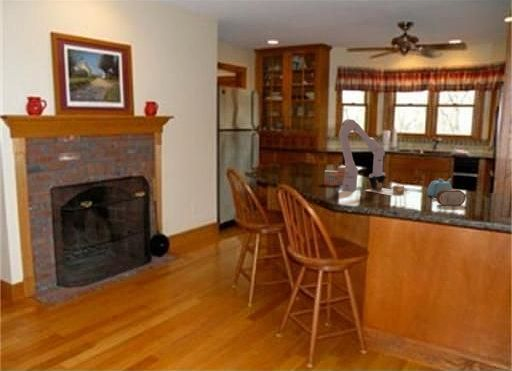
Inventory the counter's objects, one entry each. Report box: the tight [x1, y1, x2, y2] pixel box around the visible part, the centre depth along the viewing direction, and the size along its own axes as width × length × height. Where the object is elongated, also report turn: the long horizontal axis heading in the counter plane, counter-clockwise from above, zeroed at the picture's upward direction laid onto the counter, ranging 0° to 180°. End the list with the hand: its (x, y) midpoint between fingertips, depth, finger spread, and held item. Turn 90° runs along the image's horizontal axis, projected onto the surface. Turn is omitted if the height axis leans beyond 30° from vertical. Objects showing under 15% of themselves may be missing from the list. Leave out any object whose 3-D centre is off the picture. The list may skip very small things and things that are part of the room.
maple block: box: [392, 184, 405, 196], centre depth 263 cm, size 4×4×4 cm
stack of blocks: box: [323, 165, 359, 187], centre depth 294 cm, size 21×6×12 cm, turn 81°
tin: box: [435, 189, 467, 207], centre depth 235 cm, size 15×3×8 cm, turn 92°
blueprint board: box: [364, 187, 410, 197], centre depth 269 cm, size 22×16×1 cm
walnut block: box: [370, 181, 383, 191], centre depth 275 cm, size 4×4×4 cm
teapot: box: [427, 178, 453, 198], centre depth 257 cm, size 13×11×18 cm
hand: (376, 188), depth 275 cm, fingers open, 6 cm apart
